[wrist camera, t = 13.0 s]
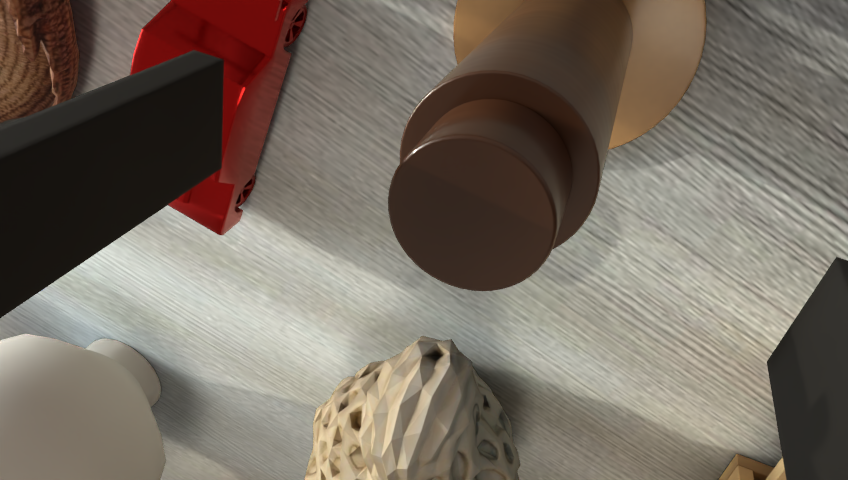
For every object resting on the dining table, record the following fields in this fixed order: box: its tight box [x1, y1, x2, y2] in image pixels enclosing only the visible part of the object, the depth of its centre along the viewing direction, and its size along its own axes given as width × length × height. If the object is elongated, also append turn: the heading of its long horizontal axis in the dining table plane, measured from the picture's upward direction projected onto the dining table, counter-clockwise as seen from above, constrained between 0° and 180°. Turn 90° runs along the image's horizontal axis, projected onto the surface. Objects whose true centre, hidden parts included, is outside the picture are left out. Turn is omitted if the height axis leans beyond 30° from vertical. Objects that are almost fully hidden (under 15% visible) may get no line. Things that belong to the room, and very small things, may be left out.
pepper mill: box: [388, 0, 633, 291], centre depth 20 cm, size 5×5×16 cm
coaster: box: [453, 0, 707, 149], centre depth 27 cm, size 10×10×1 cm
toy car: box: [130, 0, 308, 235], centre depth 31 cm, size 14×6×5 cm, turn 156°
